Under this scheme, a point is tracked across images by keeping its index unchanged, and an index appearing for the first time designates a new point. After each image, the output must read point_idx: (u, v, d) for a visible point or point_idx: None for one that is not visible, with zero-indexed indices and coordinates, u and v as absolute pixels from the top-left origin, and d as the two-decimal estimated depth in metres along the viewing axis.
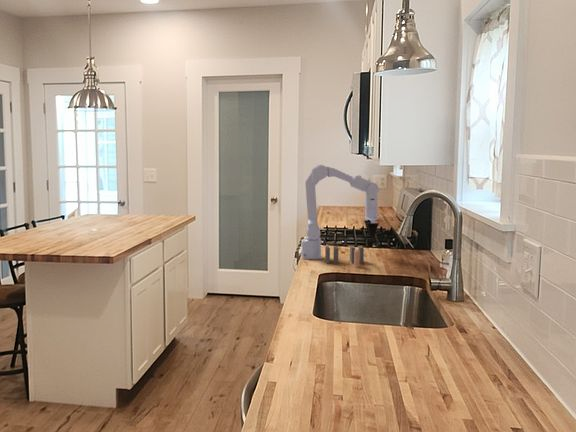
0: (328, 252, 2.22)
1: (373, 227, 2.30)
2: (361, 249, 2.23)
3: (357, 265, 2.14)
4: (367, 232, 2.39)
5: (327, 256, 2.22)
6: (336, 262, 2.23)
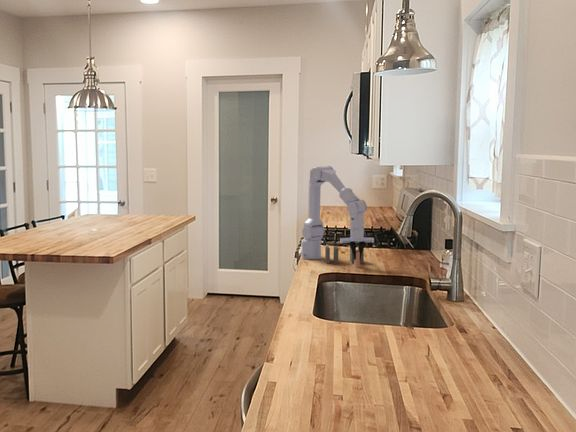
0: (328, 252, 2.22)
1: None
2: None
3: (357, 265, 2.14)
4: None
5: (327, 256, 2.22)
6: (336, 262, 2.23)
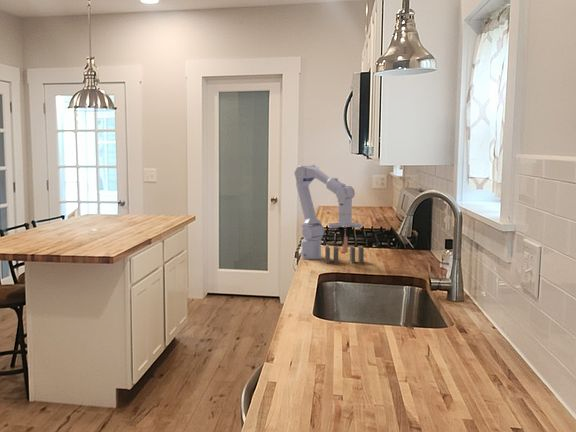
0: (328, 252, 2.22)
1: None
2: (361, 249, 2.23)
3: (345, 250, 2.20)
4: None
5: (327, 256, 2.22)
6: (336, 262, 2.23)
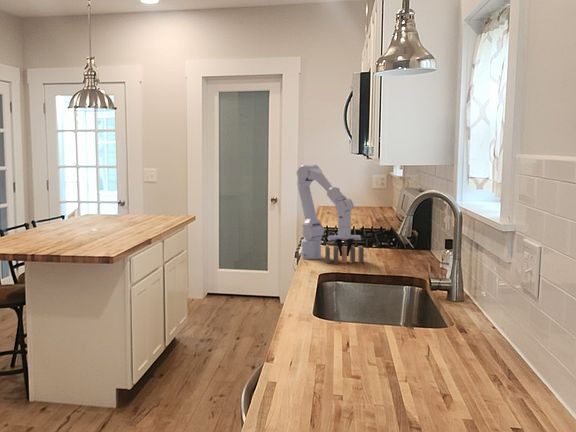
0: (328, 252, 2.22)
1: None
2: (361, 249, 2.23)
3: (344, 261, 2.23)
4: None
5: (327, 256, 2.22)
6: (336, 262, 2.23)
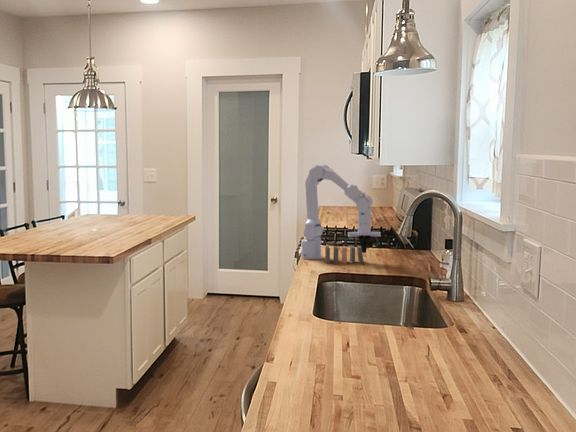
0: (328, 252, 2.22)
1: None
2: (359, 249, 2.23)
3: (344, 261, 2.23)
4: None
5: (327, 256, 2.22)
6: (336, 262, 2.23)
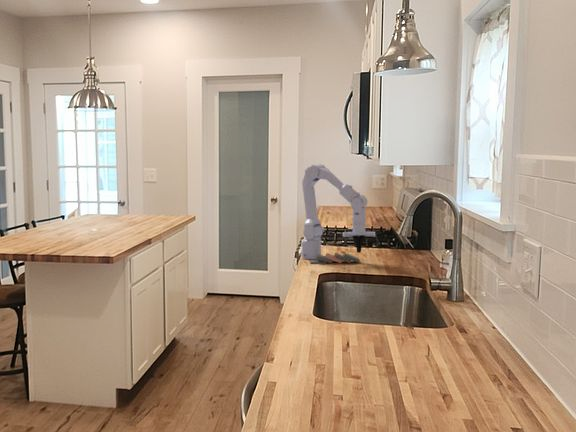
0: (314, 263, 2.23)
1: None
2: (346, 257, 2.23)
3: (339, 261, 2.23)
4: None
5: None
6: (331, 261, 2.23)
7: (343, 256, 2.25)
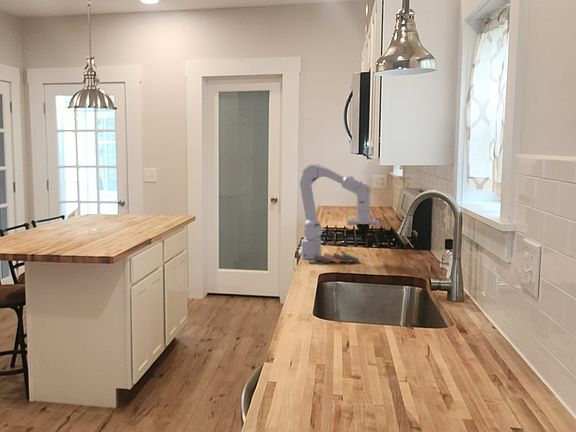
0: (313, 263, 2.22)
1: None
2: (345, 257, 2.23)
3: (337, 261, 2.23)
4: None
5: None
6: (328, 261, 2.23)
7: None
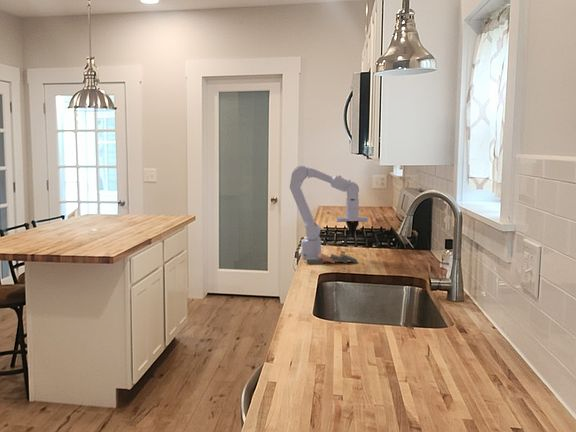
0: None
1: None
2: (343, 257, 2.22)
3: (332, 261, 2.23)
4: None
5: None
6: (321, 261, 2.22)
7: (339, 257, 2.25)
